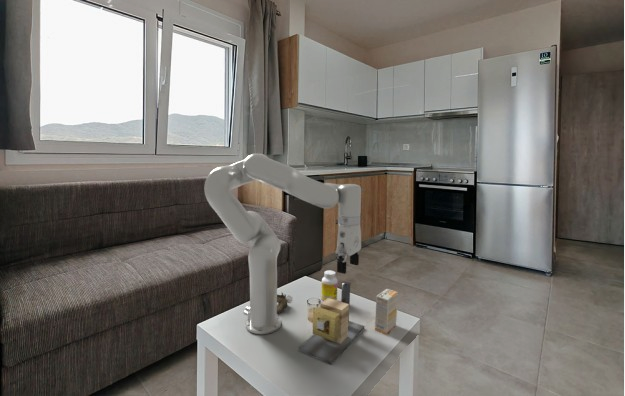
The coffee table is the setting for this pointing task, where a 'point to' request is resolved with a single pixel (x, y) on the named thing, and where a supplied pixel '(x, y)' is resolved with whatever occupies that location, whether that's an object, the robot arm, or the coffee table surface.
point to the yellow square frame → (329, 316)
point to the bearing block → (328, 348)
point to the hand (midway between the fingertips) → (348, 268)
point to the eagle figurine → (283, 302)
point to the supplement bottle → (329, 286)
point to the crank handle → (345, 298)
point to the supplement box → (386, 310)
